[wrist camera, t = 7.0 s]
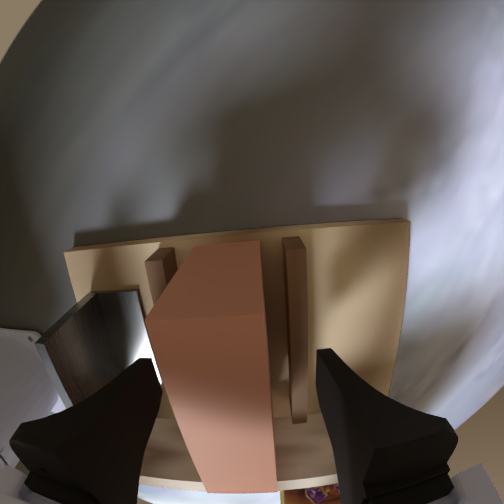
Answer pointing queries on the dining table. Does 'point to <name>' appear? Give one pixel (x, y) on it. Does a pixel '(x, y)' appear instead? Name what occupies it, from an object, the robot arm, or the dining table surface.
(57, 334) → the bookend
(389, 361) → the beige slotted rack
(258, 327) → the slim book
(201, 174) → the dining table surface
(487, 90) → the dining table surface
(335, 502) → the candy box
